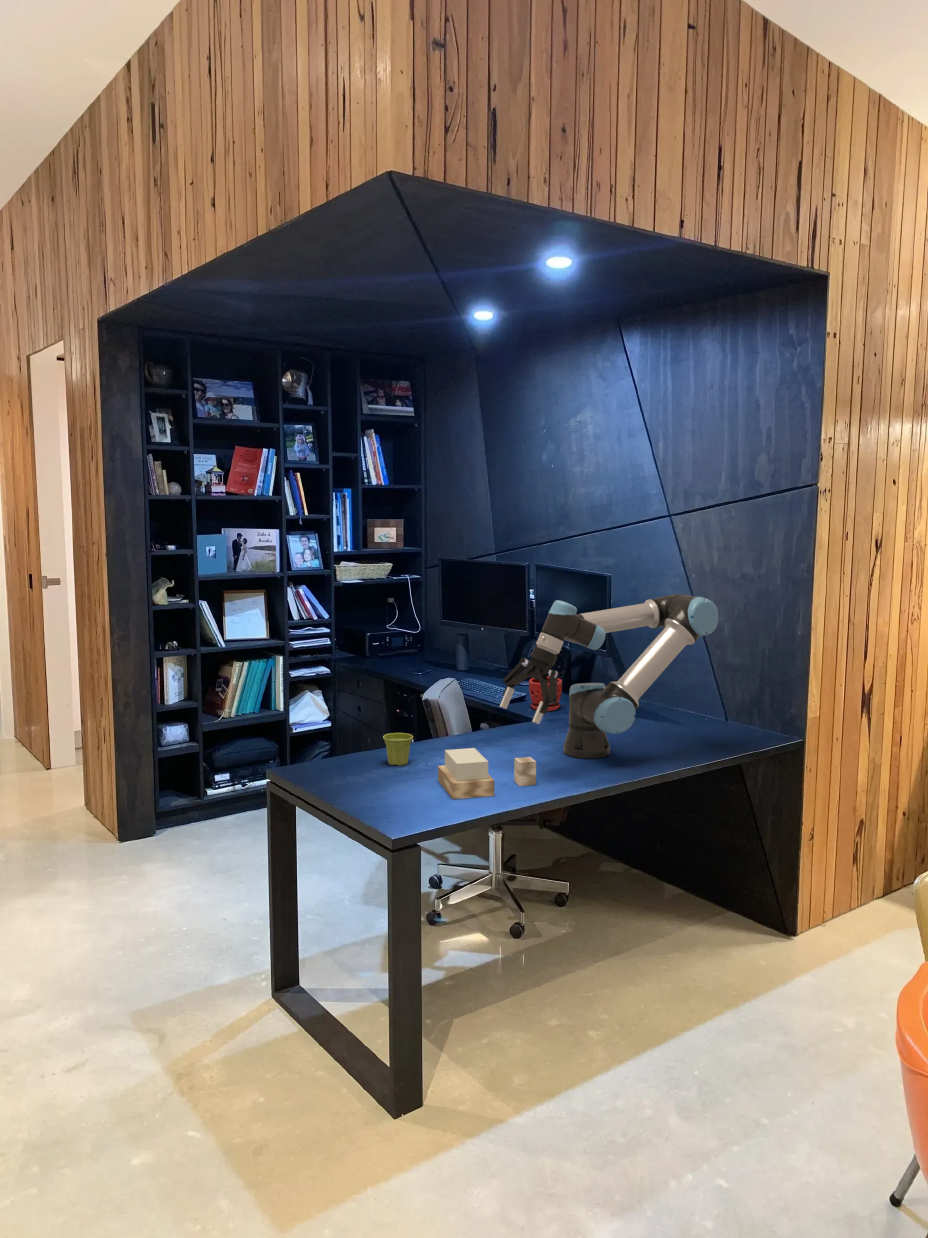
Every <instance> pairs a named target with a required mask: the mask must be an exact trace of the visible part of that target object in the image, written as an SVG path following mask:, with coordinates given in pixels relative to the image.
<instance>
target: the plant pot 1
mask: <svg viewBox="0 0 928 1238" xmlns="http://www.w3.org/2000/svg"><path fill="white" fill-rule="evenodd" d="M382 739H383V740H384V743H385V747H386V757H387V762H388V765H391V766H395V765H397V766H400V767H401V766H405V765H407V764H408V763H409V757H410V756H409V755H410V749H411V743H412V741H413V739H414V736H413V735H412V734H410V733H406V732H405V733H404V732H394V733H393V732H391V733H386V734H384V735H383V736H382Z"/></svg>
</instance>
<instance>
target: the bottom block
mask: <svg viewBox="0 0 928 1238" xmlns="http://www.w3.org/2000/svg"><path fill="white" fill-rule="evenodd" d="M437 781H438V783H440V785H441V786H442V788H443V789H444V790H445V792H446V793H447V794H448V795H449V797H450V798H451V799H452V800H460V799H471V798H482V797H483V798H484V797H494V796H495V779H494V778H493V777H492V775H490V774H489V773H488V779H480V780H468V781H456V779H455V778H454V777H453V776H452V775H451V773H450V772H449V771H448V770H447V769H446V767H445V764H444V765H438V766H437Z"/></svg>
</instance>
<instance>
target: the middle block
mask: <svg viewBox="0 0 928 1238" xmlns="http://www.w3.org/2000/svg"><path fill="white" fill-rule="evenodd" d="M444 765H445V767H446V769H447V770H448V771H449V772H450V773H451V775H452V776H453V777H454V778H455V779H456V781H468V780H480V779H488V774H489V761H488V760H487V758H485V757H484V756H483V755H482V754H481V753H480V752H479V751H478V749H476V748H475V747H469V748H457V749H456V748H455V749H444Z"/></svg>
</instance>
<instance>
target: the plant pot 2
mask: <svg viewBox="0 0 928 1238" xmlns="http://www.w3.org/2000/svg"><path fill="white" fill-rule="evenodd" d="M547 678H548V688H549V678H550V676H547ZM562 683H563V680H562V679H560V678H559V677H558V679H557V703H556V704H550V705H549V707H548V709H547V712H551V711H556V710H558V709H559V708H560V706H561V704H560V703H559V702H560V699H561V696H562V693H563V691H562V690H563V684H562ZM528 691H529V697H530V700H531V703H530V706H531V708H532V709H534V710H535V711H537V709H538V706H539V704H540V702H541V701H542V702H543V696H542V691H541V686H540V682H539V680H537V679H534V678H532V677H531V678H530V679H529V680H528Z"/></svg>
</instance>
